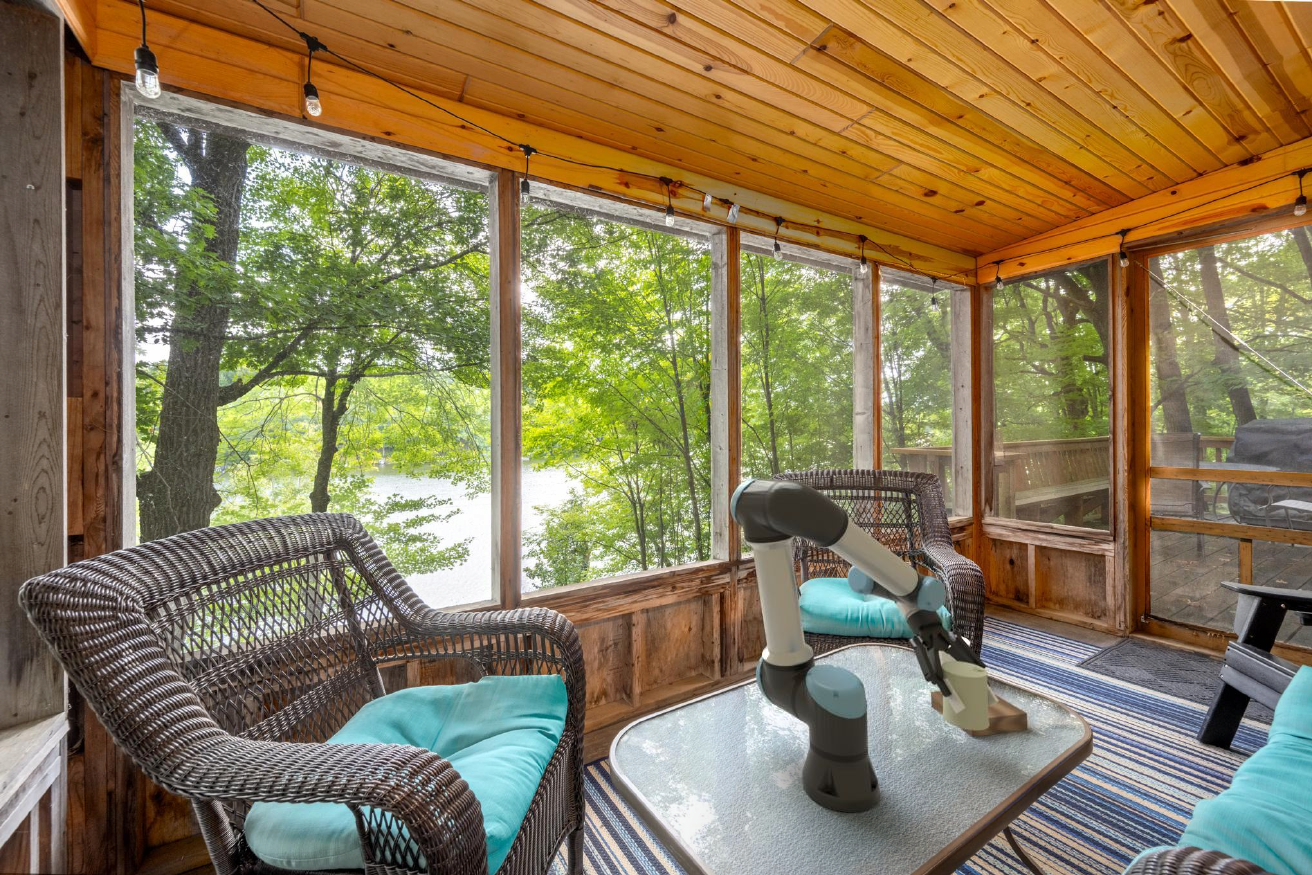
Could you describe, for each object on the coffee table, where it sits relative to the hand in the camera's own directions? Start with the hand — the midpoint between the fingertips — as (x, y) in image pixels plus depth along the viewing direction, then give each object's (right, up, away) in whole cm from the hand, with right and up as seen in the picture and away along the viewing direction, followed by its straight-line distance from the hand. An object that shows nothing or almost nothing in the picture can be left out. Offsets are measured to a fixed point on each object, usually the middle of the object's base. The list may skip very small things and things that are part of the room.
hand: (977, 707), depth 119 cm
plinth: (+11, -12, +19) cm, 25 cm away
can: (-1, -5, +3) cm, 6 cm away
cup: (+17, -12, +43) cm, 47 cm away
